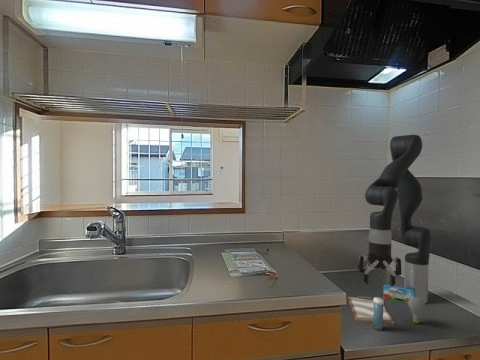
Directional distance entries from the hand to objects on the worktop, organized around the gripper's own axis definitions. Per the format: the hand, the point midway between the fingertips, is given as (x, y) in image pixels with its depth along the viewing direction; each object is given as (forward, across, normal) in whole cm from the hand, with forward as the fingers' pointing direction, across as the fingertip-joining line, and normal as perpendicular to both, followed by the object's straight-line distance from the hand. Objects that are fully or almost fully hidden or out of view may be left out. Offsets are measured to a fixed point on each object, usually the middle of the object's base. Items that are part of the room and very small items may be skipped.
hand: (378, 284), depth 106 cm
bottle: (+16, 0, 0) cm, 17 cm away
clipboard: (+16, 0, +14) cm, 22 cm away
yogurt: (+17, +15, +26) cm, 35 cm away
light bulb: (+17, +16, +7) cm, 24 cm away
